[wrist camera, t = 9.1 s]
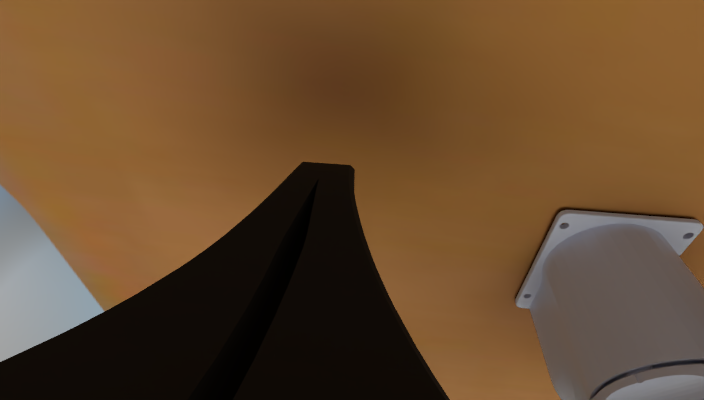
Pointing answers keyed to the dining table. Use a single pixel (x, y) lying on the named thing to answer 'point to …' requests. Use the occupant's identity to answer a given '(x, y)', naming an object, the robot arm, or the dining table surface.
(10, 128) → the dining table surface
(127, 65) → the dining table surface
